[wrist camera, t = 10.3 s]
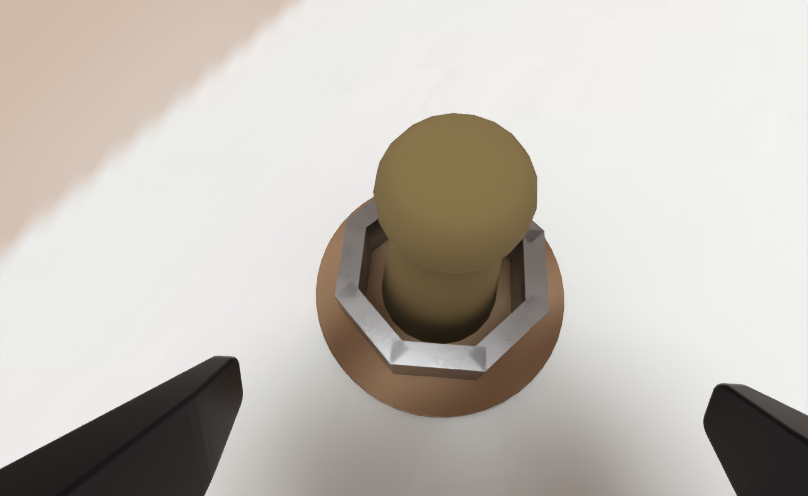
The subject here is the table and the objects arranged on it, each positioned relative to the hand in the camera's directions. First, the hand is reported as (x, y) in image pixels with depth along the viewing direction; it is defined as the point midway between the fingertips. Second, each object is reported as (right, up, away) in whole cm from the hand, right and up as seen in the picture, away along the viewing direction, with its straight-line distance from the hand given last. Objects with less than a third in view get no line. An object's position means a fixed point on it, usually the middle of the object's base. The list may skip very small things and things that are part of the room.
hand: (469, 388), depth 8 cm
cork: (+1, 0, +14) cm, 14 cm away
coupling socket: (+1, 0, +15) cm, 15 cm away
